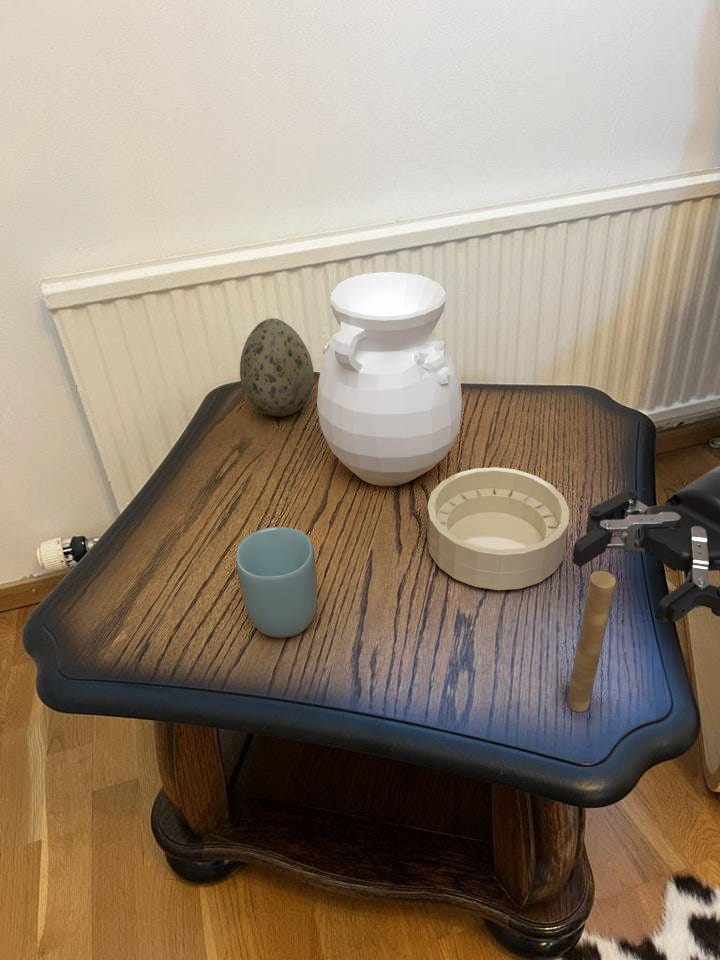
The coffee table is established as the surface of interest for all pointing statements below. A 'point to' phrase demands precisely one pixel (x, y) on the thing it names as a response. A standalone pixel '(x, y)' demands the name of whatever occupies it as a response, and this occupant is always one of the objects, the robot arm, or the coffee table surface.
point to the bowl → (497, 528)
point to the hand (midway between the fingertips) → (616, 584)
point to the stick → (590, 639)
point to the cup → (278, 580)
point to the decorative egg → (276, 369)
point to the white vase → (388, 379)
